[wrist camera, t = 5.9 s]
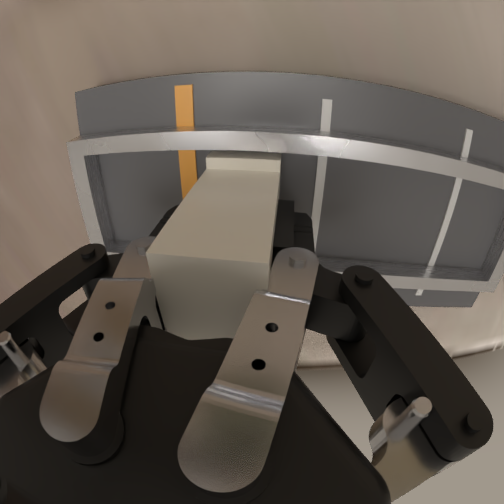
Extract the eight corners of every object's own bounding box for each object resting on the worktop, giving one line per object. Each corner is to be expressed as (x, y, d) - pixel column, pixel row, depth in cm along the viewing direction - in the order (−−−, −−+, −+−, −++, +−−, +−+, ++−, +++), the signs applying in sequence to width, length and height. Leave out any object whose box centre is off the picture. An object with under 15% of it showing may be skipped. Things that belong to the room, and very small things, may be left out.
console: (515, 126, 11) (548, 143, 8) (461, 288, 18) (477, 319, 15) (96, 86, 13) (60, 96, 10) (127, 262, 20) (107, 292, 17)
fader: (281, 153, 12) (269, 244, 7) (275, 251, 15) (262, 372, 9) (211, 151, 12) (142, 235, 7) (216, 246, 15) (174, 360, 10)
